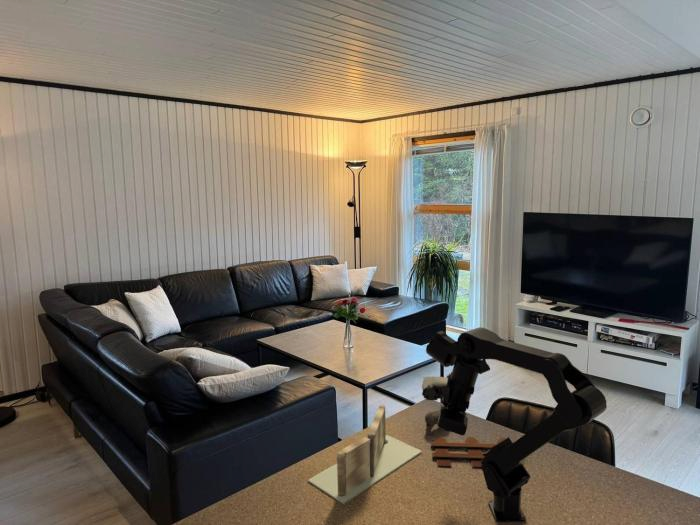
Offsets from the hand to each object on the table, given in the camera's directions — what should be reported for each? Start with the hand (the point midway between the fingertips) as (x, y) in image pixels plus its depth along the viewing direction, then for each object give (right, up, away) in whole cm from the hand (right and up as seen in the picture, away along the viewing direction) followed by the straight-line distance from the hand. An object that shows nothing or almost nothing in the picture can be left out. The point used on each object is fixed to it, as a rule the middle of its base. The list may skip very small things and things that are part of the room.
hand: (446, 430), depth 118 cm
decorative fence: (+10, -11, +13) cm, 20 cm away
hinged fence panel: (-16, -10, +11) cm, 22 cm away
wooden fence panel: (-22, -13, -1) cm, 25 cm away
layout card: (-19, -12, +7) cm, 23 cm away
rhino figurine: (+4, -8, +27) cm, 29 cm away
